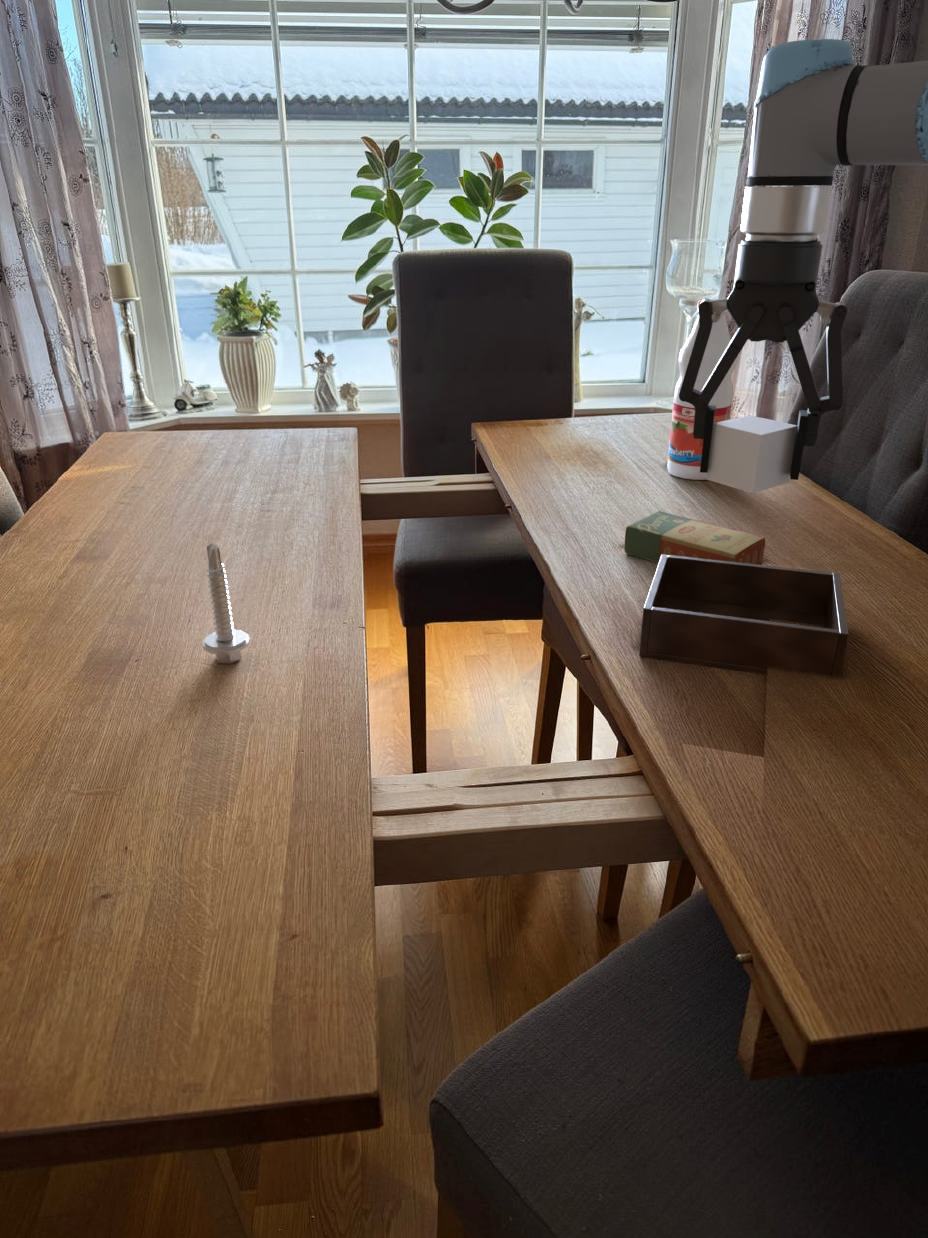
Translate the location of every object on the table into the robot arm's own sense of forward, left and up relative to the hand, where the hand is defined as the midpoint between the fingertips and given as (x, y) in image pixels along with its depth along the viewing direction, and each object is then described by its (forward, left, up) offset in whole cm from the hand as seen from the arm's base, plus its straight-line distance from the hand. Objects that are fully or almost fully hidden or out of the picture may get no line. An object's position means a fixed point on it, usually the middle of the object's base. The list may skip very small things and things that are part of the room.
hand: (748, 472), depth 93 cm
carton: (+6, -17, -18) cm, 25 cm away
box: (-1, +4, -17) cm, 18 cm away
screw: (+50, +25, -18) cm, 58 cm away
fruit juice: (+9, -57, -18) cm, 60 cm away
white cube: (0, 0, -1) cm, 1 cm away
